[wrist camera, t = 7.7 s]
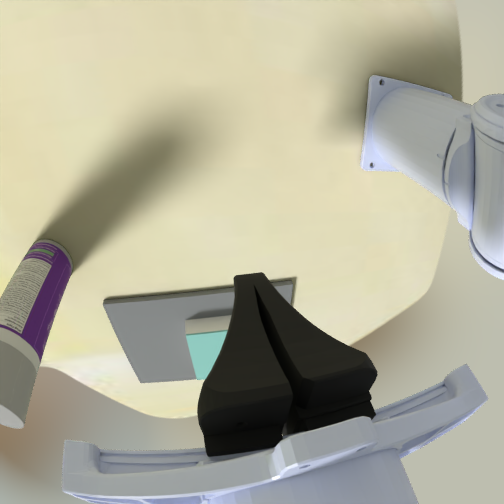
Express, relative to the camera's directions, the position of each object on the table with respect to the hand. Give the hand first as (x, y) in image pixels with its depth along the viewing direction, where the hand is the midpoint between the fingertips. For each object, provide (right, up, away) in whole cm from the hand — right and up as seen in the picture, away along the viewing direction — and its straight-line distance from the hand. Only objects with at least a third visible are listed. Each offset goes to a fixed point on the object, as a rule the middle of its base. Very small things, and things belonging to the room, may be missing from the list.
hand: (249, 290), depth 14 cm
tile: (0, -8, +17) cm, 18 cm away
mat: (-5, -8, +17) cm, 19 cm away
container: (-18, +1, +8) cm, 20 cm away
